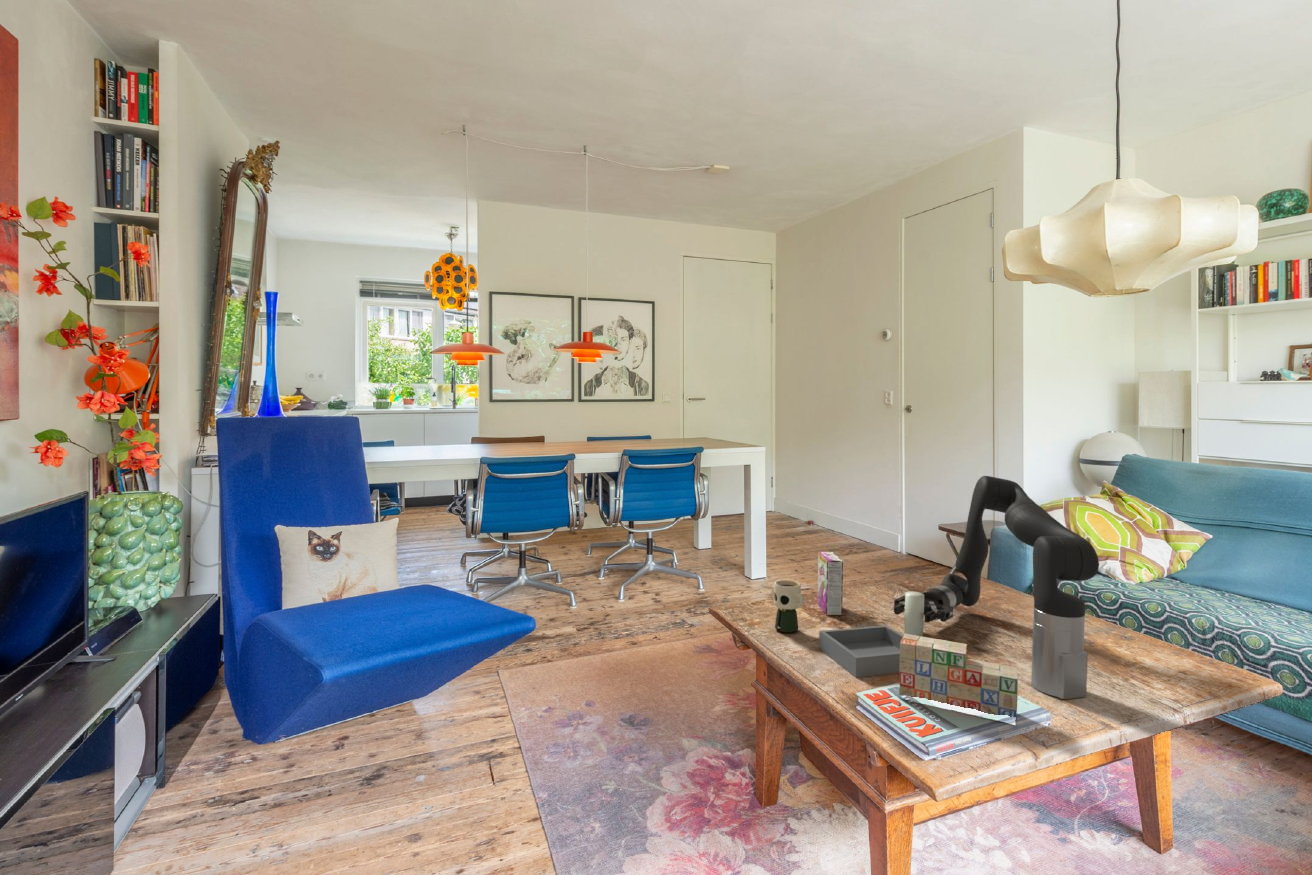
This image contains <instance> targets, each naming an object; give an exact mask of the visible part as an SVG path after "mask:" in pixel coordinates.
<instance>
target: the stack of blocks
mask: <svg viewBox="0 0 1312 875" xmlns="http://www.w3.org/2000/svg"><path fill="white" fill-rule="evenodd" d="M903 635H904V636H903V638H902V640H901V642H900V658H899V660H900V662H899V664H900V665H899V670H900V671H899V673H898V674H899V675H898V676H899V678H898V679H899V688H898V690H899V691H898V695H899V694H900V695H907V696H911V697H919V698H926V699H928V700H934V701H938V702H941V703H947V704H950V705H955V706H960V707H964V708H971V709H976V710H978V711H981V712H984V713H988V714H994V715H1008V716H1010V717H1012V716H1013V717H1016V719H1017V714H1018V695H1019V694H1018V692H1019V691H1018V686H1019V685H1018V683H1019V682H1018V680H1019V678H1018V675H1019V674H1018V667H1014V666H1008V665H1004V664H998V663H993V662H988V661H982V660H977V659H973V658H972V659H970V658H968V644H967V643H962V642H957V641H956V642H955V641H951V640H946V639H945V640H944V639H940V638H939V639H938V638H932V637H926V636H923V637H921V636H916V635H910V634H904V633H903Z"/></svg>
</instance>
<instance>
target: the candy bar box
mask: <svg viewBox="0 0 1312 875" xmlns="http://www.w3.org/2000/svg"><path fill="white" fill-rule="evenodd" d="M843 569H844V561H843V560H842V559H841V558H840V557H839V556H838V555H837V554H836V553H835V552H834V551H817V604H818V606H819V605H820V606H819V607H820V608H821V610H822V609H823V610H822V612H823V613H824V614H825V613H826V614H825V615H826V616H828V615H842V616H843V588H844V587H843V586H844V585H843V583H844V582H843V580H844V577H843V576H844V573H843V572H844V570H843Z"/></svg>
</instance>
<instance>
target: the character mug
mask: <svg viewBox="0 0 1312 875" xmlns="http://www.w3.org/2000/svg"><path fill="white" fill-rule="evenodd" d="M801 587H802V585H801V583H800V582H798V581H796V580H791V579H778V580H775V581H774V583H773V585H771V596H772V597H773V599H772V600H773V604H774V606H775V607H776V608H777V611H776V618H775V622H774V624H775V625H774V628H775V629H776V630H779V631H780V632H783V633H792V632H796V631H797V630H799V621H798V613H797V612H798V611H797V609H799V608H800V607H803V606H804V594H802V593H801V591H802V588H801Z"/></svg>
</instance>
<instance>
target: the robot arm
mask: <svg viewBox="0 0 1312 875" xmlns="http://www.w3.org/2000/svg"><path fill="white" fill-rule="evenodd" d="M985 510H989V511H995V512H998V513H1002V514H1003V513H1004V523H1005V525H1006V528H1007V529H1008V530H1009V532H1011V534H1012V535H1013V536H1014V537H1015V538H1016V539H1017V540H1018V541H1020V542H1021V543H1024V544H1025V545H1027V546H1030V547H1032V574H1033V576H1032V577H1033V578H1032V579H1033V581H1032V582H1033V583H1032V587H1033V623H1032V648H1031V651H1032V652H1031V675H1030V677H1031V679H1030V680H1031V682H1030V684H1031V686H1032V687H1033V688H1034V689H1035V690H1037V691H1039V692H1041V693H1043V694H1047V695H1049V696H1053V697H1057V698H1059V699H1061V700H1068V699H1069V700H1070V699H1076V698H1077V699H1078V698H1085V697H1087V685H1088V659H1089V654H1088V652H1087V651H1085V650H1084V648H1085V647H1084V646H1085V645H1084V644H1085V628H1086V627H1085V625H1086V624H1085V622H1086V603H1085V601H1084V600H1083V599H1081V598H1080V597H1078V596H1076V595H1073V594H1070V593H1069V592H1068V593H1067V592H1066V591H1062V590H1061V589H1060V588H1059V587H1058V586H1059V585H1058V581H1068V582H1069V581H1071V582H1081V581H1088V580H1091V579H1092V578H1095V576H1096V575H1097V574H1098V571H1099V568H1100V562H1099V561H1100V560H1099V556H1098V554H1097V551H1096V550H1095V548H1094V546H1093V544H1091V542H1090V541H1088V540H1087V539H1086V538H1085V537H1083V536H1081V535H1080V534H1078V533H1075V532H1074V531H1072V530H1070V529H1069V528H1067V527H1066V526H1064V524H1062V523H1061V522H1059V521H1058V520H1057V519H1055V518H1054V517H1052V516H1051V514H1050V513H1048V512H1047V510H1045V509H1044V508H1042V506H1040V505H1039V504H1037V503H1036V502H1035V501H1034V500H1033V499H1032V498H1030V496H1028V494H1027V493H1026V492H1025V490H1024V489H1023V488H1022V486H1020V485H1019V483H1017V482H1016V481H1013V480H1010V479H1005V478H999V477H995V476H989V475H982V476H980V478H979V479H977V481H976V483H975V486H974V488H973V492H972V496H971V501H970V506H969V510H968V511H969V512H968V515H967V522H966V526H965V527H966V528H965V533H964V536H963V540H962V543H961V547H960V549H959V552H958V555H957V558H956V560H955V568H956V569H957V571H958V572H959V573H961V575H963V576H964V577H962V576H960V575H958V574H955V573H948V574H946V575H945V576H944V577H943V579H942V581H941V582H940V584H939V585H936V586H933V587H930V588H928V589H925V590H923V591H922V592H921V593H922V594H924V622H925V623H931V622H933V621H934V622H936V621H938V620H940V621H941V622H943V623H945V622H947V621H949V620H951V619H952V618H953V617H954V608H956V607H958V606H960V605H963V606H965V607H973V606H975V605H976V604H977V603H978V601H980V600H979V599H980V597H981V578H982V572H983V568H984V565H985V562H986V560H987V557H988V555H989V541H988V538H987V535H986V532H985V529H984V524H983V515H984V511H985ZM893 613H894V615H901V614H902V613H905V595H902V596H899V597H898V598H896V599H894V600H893Z"/></svg>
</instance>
